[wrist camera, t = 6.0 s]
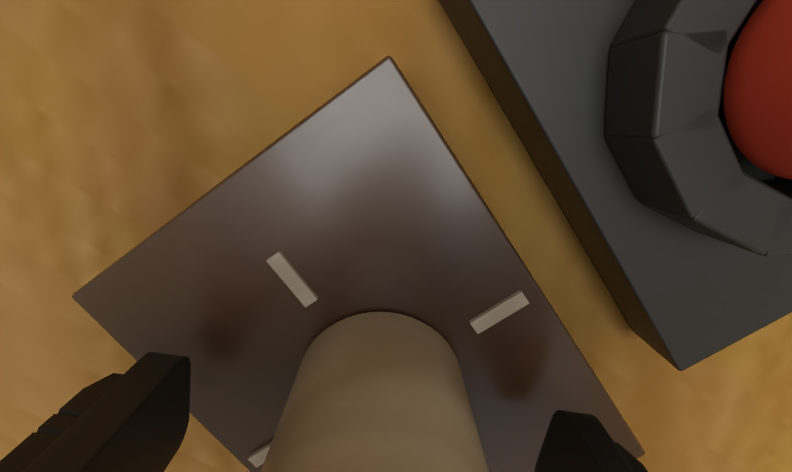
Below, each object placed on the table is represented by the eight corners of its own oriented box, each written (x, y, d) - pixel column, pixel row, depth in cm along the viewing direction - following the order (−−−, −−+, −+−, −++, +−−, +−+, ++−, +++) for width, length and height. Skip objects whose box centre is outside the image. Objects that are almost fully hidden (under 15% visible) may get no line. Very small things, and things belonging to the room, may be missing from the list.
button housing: (913, 173, 12) (1173, 200, 8) (633, 331, 13) (735, 421, 9) (772, -275, 9) (1074, -588, 5) (431, -12, 10) (457, -93, 6)
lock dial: (395, 277, 9) (401, 444, 4) (491, 395, 10) (580, 633, 5) (264, 371, 10) (149, 601, 5) (367, 472, 11) (348, 747, 6)
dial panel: (591, 383, 13) (650, 459, 10) (377, 501, 15) (373, 600, 12) (390, 71, 11) (389, 52, 8) (146, 254, 12) (63, 299, 9)
